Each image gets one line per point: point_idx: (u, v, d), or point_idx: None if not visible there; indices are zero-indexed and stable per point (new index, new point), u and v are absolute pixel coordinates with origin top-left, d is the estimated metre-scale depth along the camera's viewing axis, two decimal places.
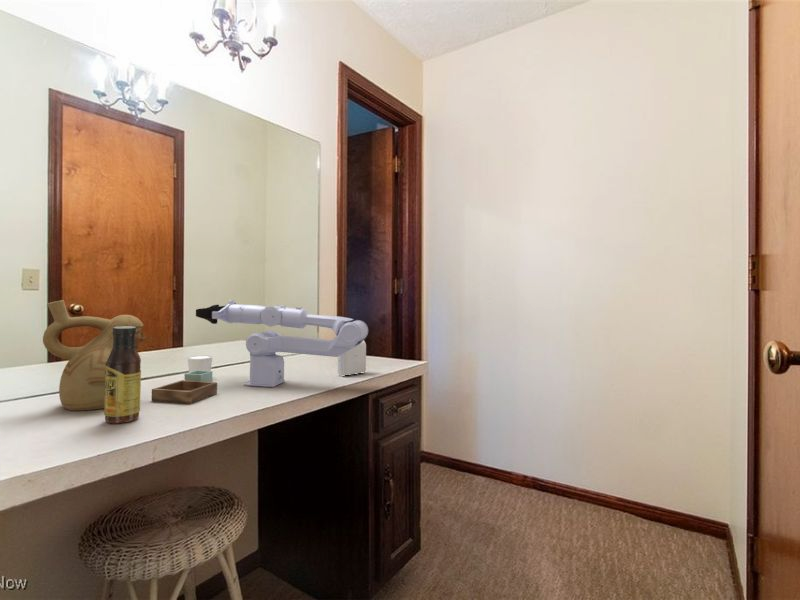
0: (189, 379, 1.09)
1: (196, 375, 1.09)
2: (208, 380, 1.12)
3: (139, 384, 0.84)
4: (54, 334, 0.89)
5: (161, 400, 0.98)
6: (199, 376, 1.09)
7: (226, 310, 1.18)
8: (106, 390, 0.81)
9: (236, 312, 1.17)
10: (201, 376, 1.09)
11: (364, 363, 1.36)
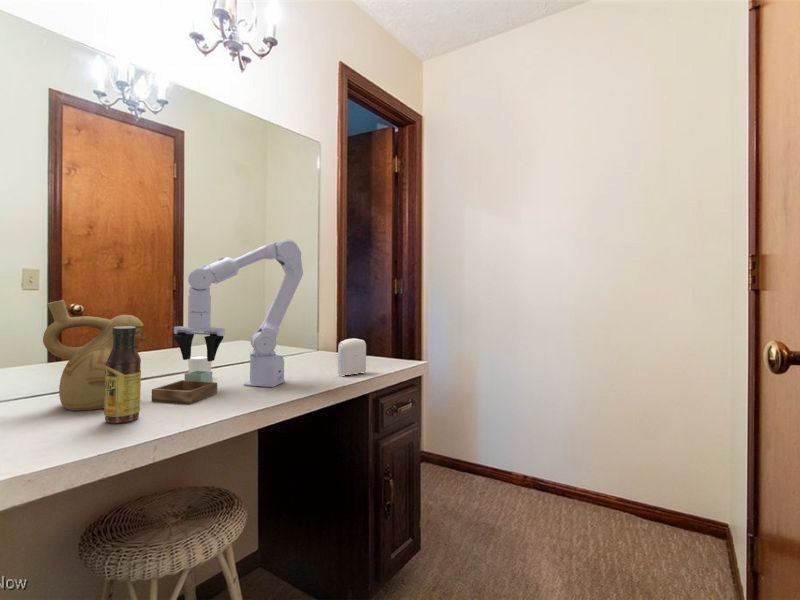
0: (189, 379, 1.09)
1: (196, 375, 1.09)
2: (208, 380, 1.12)
3: (139, 384, 0.84)
4: (54, 334, 0.89)
5: (161, 400, 0.98)
6: (199, 376, 1.09)
7: (205, 328, 1.10)
8: (106, 390, 0.81)
9: (206, 317, 1.10)
10: (201, 376, 1.09)
11: (364, 363, 1.36)
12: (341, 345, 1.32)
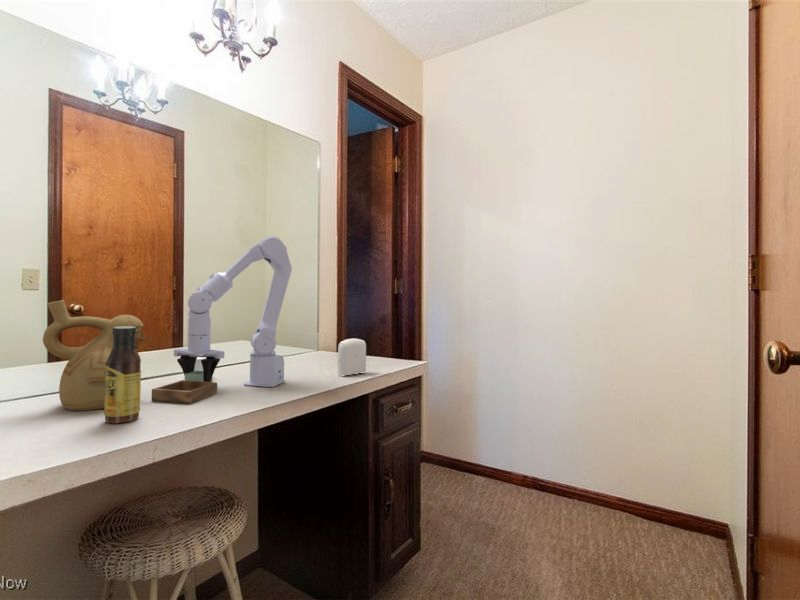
0: (189, 379, 1.09)
1: (196, 375, 1.09)
2: None
3: (139, 384, 0.84)
4: (54, 334, 0.89)
5: (161, 400, 0.98)
6: (199, 376, 1.09)
7: (205, 352, 1.10)
8: (106, 390, 0.81)
9: (206, 340, 1.10)
10: (201, 376, 1.09)
11: (364, 363, 1.36)
12: (341, 345, 1.32)
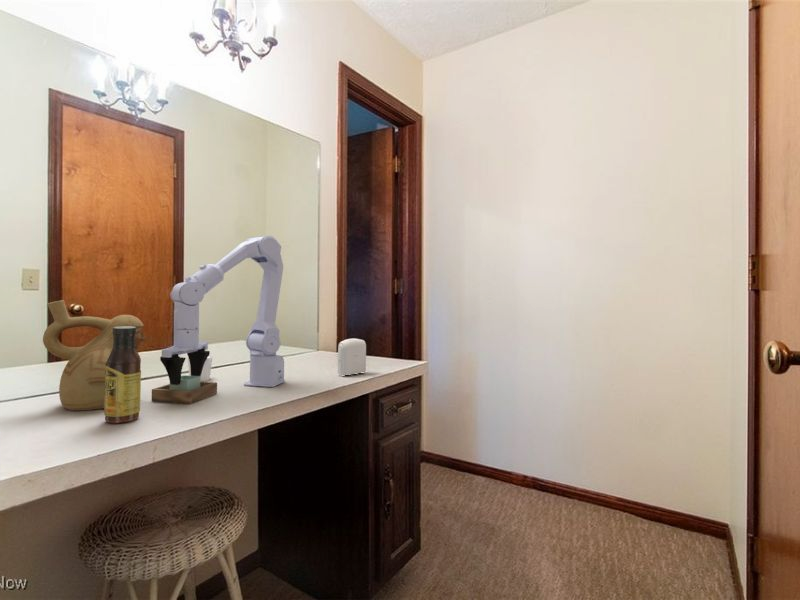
0: (191, 384, 1.01)
1: (196, 378, 1.03)
2: None
3: (139, 384, 0.84)
4: (54, 334, 0.89)
5: (161, 400, 0.98)
6: (199, 378, 1.04)
7: None
8: (106, 390, 0.81)
9: None
10: None
11: (364, 363, 1.36)
12: (341, 345, 1.32)
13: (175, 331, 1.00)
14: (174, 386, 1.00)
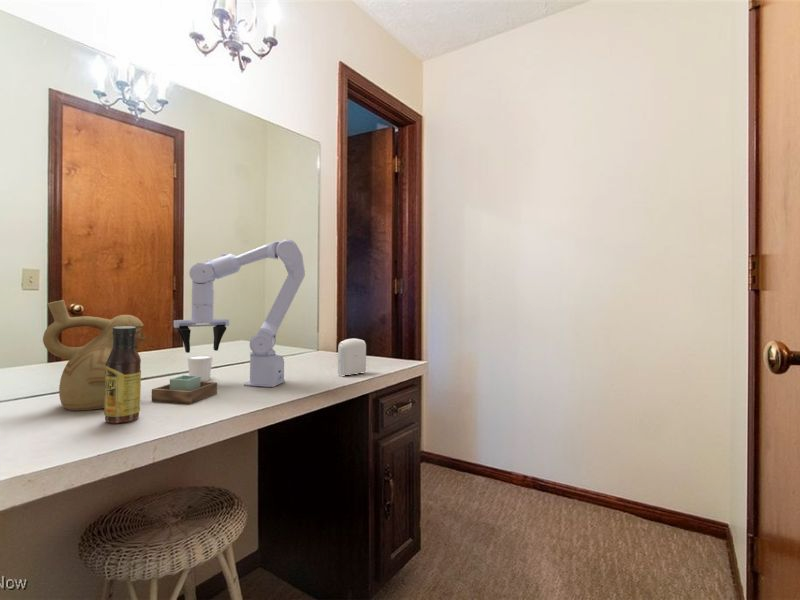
0: (191, 384, 1.01)
1: (196, 378, 1.03)
2: None
3: (139, 384, 0.84)
4: (54, 334, 0.89)
5: (161, 400, 0.98)
6: (199, 378, 1.04)
7: None
8: (106, 390, 0.81)
9: None
10: None
11: (364, 363, 1.36)
12: (341, 345, 1.32)
13: None
14: (174, 386, 1.00)
